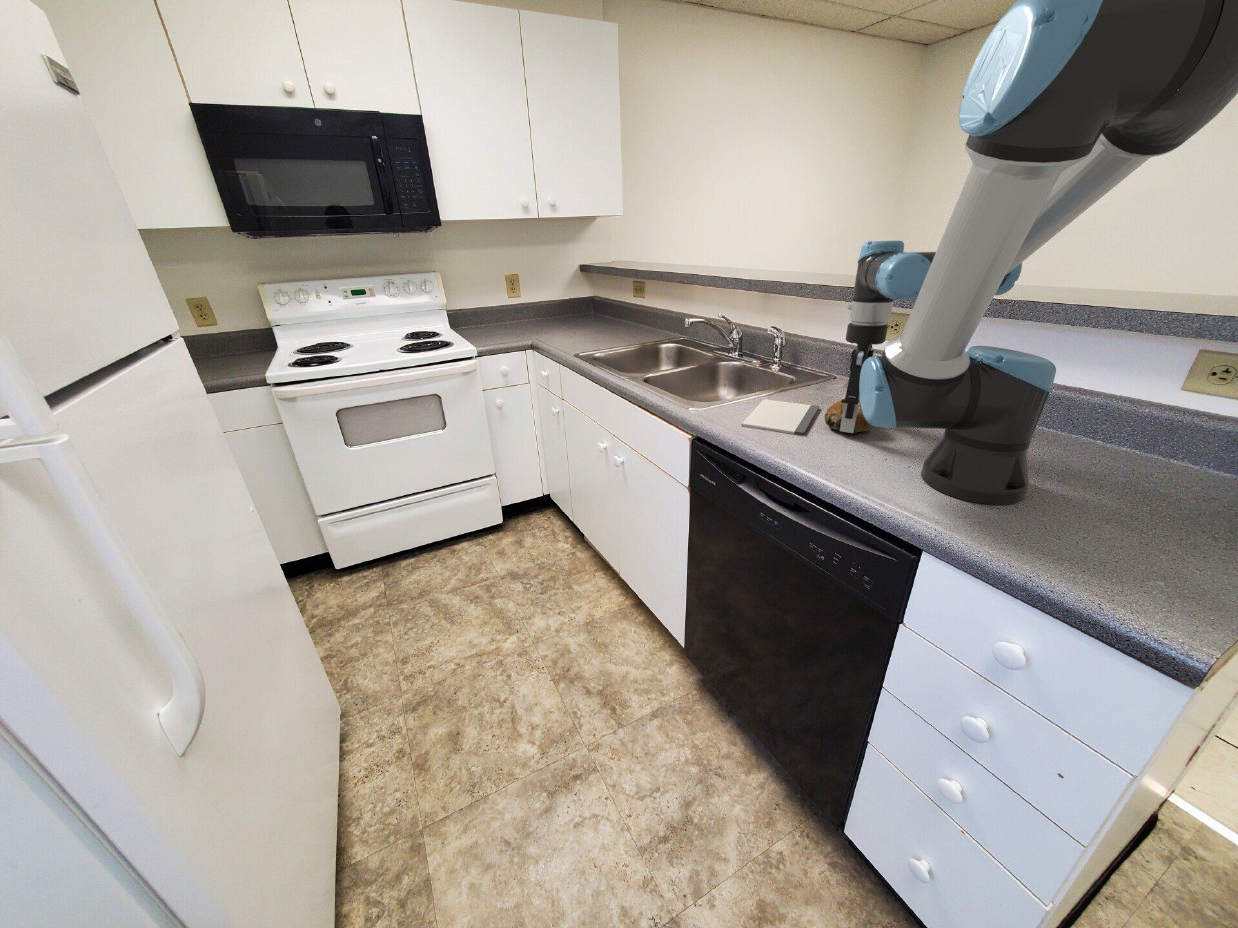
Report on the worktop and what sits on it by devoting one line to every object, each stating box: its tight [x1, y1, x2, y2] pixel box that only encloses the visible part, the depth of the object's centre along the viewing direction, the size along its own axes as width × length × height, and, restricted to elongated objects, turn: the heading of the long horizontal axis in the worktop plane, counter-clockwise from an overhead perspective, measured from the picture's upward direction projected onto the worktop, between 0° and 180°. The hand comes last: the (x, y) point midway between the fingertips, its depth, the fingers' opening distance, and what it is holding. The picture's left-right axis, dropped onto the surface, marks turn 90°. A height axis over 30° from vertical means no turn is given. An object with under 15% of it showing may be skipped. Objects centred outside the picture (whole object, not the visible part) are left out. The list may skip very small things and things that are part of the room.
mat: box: [741, 398, 820, 437], centre depth 116 cm, size 20×14×1 cm
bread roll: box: [824, 400, 874, 434], centre depth 107 cm, size 10×10×8 cm
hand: (849, 423), depth 108 cm, fingers closed on bread roll, 10 cm apart
